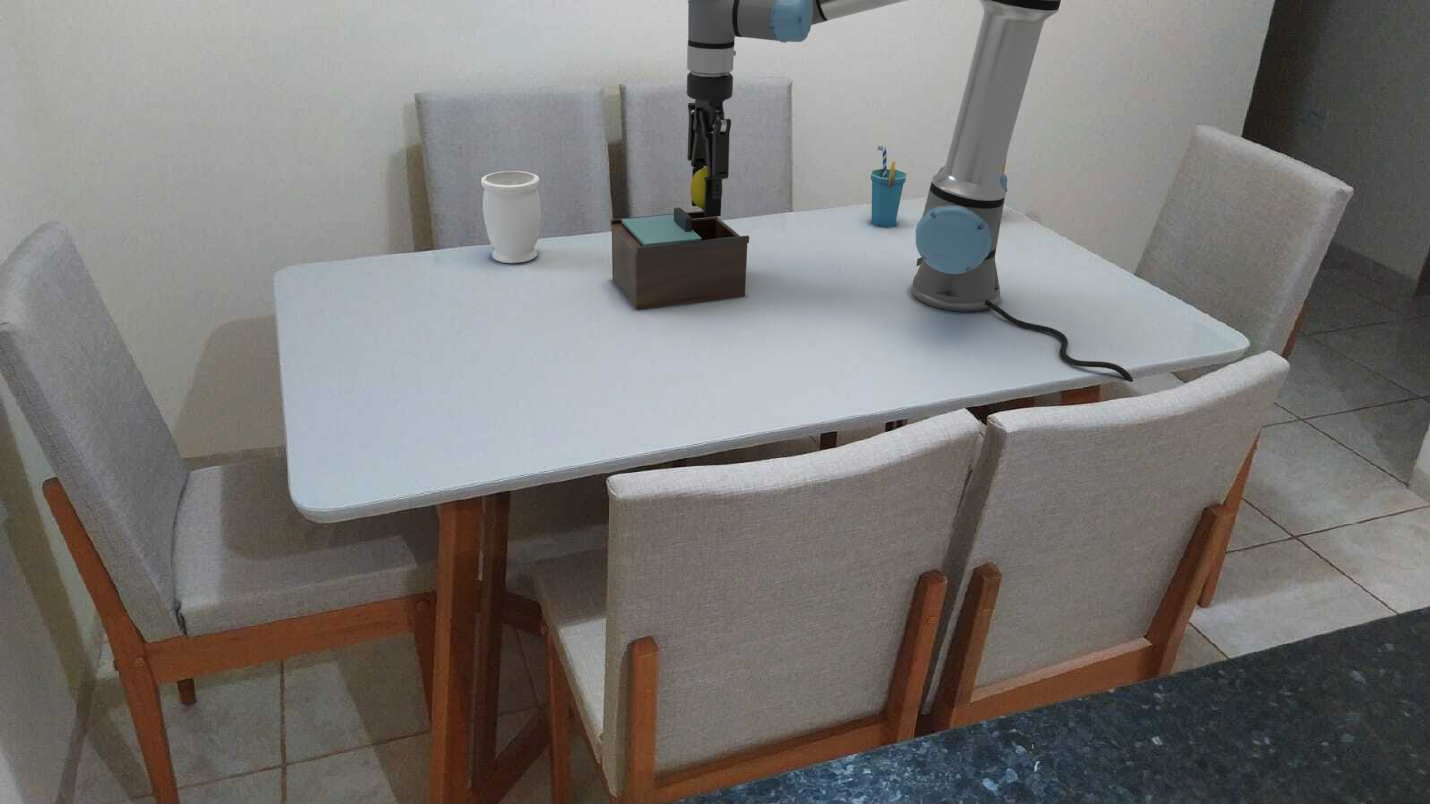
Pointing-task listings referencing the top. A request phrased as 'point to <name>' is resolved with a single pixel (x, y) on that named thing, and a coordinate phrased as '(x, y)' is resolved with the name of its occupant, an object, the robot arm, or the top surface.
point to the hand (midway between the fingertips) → (706, 210)
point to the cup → (886, 193)
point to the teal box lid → (662, 228)
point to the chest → (680, 265)
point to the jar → (512, 214)
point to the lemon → (699, 188)
